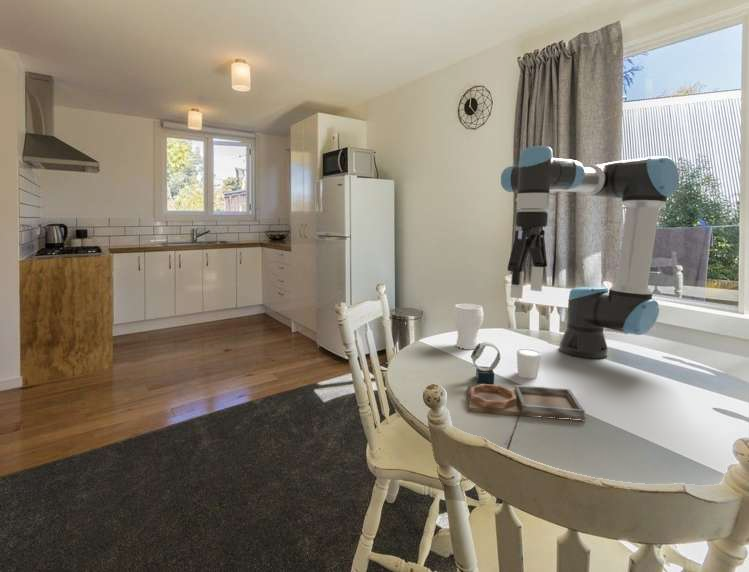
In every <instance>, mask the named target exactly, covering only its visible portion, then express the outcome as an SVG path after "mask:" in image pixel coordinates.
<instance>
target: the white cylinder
mask: <svg viewBox="0 0 749 572" xmlns="http://www.w3.org/2000/svg"><path fill="white" fill-rule="evenodd" d="M541 357H542V353H541V352H539V351H538V350H534V349H523V348H522V349H518V350H516V365H517V367H516V368H517V375H518V376H519V377H521V378H524V379H537V378H538V375H539V368H540V363H541Z"/></svg>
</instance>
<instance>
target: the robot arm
mask: <svg viewBox="0 0 749 572" xmlns="http://www.w3.org/2000/svg"><path fill="white" fill-rule="evenodd" d="M519 153H520V155H519V162H518V164H514V165H511V166H507V167H505V168H504V169H503V171H502V172H501V175H500V185H501V187H502V189H503V190H504V191H506V192H508V193H517V196H516V198H515V202H516V210H518V212H516V213H515V226H516V227H518V228H520V227H521V230H515V233H514V242H513V245H512V249H511V251H510V253H511V254H510V257H509V260H508V265H507V271H508V272H511V277H510V278H511V280H510V294H509V296H510V298H515V299H523V292H524V275H525V274H524V273H525V272H524V271H523V270H524V266H525V264H526V260H527V258H528V256H529V253H530V256H531V259H532V264H533V266H531V278H530V280H531V281H530V291H534V292H542V287H543V277H544V276H543V275H544V274H543V273H544V268H546V267H548V261H547V252H546V251H547V250H546V242H545V239H546V238H545V234H546V231H545V230H544V229H540V228H545V227H547V226H548V217H549V216H548V215H549V213H548V212H547V210H549V205H550V192H551V193H553V192H556V193H557V192H559V193H560V192H563V193H581V194H582V195H585V196H596V197H604V198H611V199H613V198H614V199H621V204H622V205H623V206H624V207H625V215H624V222H623V230H622V236H621V245H620V251H619V257H618V265H617V273H616V279H615V284H613V285H612V286H611V287H609V290H608V287H605V286H584V287H583V286H579V287H574V288H571V290H570V291H569V295H568V299H567V301H568V306H567V307H568V308H567V317H566V318H567V319H566V328H565V330H564V333H563V335H562V338H561V340H560V341H559V348H558V349H559V351H561V353H564V354H567V355H569V356H572V357H576V358H577V357H578V358H584V359H603V358H606V357H607V356H608V353H609V352H608V351H609V348H608V345H607V340H606V337H605V329H609V330H612V331H613V330H614V331H617V332H621V333H625V334H626V335H627V334H628V335H629V334H630V335H636V336H641V335H645V334H647V333H648V332H649V331H651V329H652V328H653V327H654V325H655V323H656V321H657V320H658V317H659V313H660V307H659V303H658V301H656V300H655V299H653V291H652V290H651V289H650V288H649V281H650V280H649V279H650V273H651V266H652V260H653V254H654V248H655V247H654V246H655V240H656V233H657V226H658V220H659V219H658V218H659V215H660V214H659V212H660V209H661V208H662V207H664V206H665V205H666V204H667V200H668V197H671V196H673V195H675V193H676V192H677V190H678V189H679V184H680V183H679V182H680V176H679V175H680V174H679V170H678V167H677V165H676V163H675V161H674V160H673V159H672V158H671V157H669V156H665V155H663V156H662V155H660V156H648V157H641V158H640V157H639V158H634V159H633V158H632V159H626V160H617V161H611V162H607V163H606V162H605V163H602V164H601V163H600V164H589V165H586V166H585V167H584V165H583V164H582V162H580V161H579V160H574V159H572V158H557V157H554V156H553V149H552V148H551V147H550V146H547V145H538V146H537V145H536V146H533V145H532V146H528V147H524V148H523V149H521V151H520V152H519Z"/></svg>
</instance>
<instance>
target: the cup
mask: <svg viewBox="0 0 749 572" xmlns="http://www.w3.org/2000/svg"><path fill="white" fill-rule="evenodd" d="M452 313H453V315H452V316H453V322H454V325H455V327H456V330H457V331H456V332H457V337H456V343H455V346H456V347H457V348H458V347H460V348H459V349H462V348H464V349H463V350H474V349H475V347H476V346H477V345H478V344H479V343H478V333H479V330H480V328H481V327H482V326H483V325H482V324H483V323H484V310H483V306H482V305H480V304H475V303H459V304H458V303H457V304H455V305H454V309H453V312H452Z"/></svg>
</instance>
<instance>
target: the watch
mask: <svg viewBox="0 0 749 572" xmlns="http://www.w3.org/2000/svg"><path fill="white" fill-rule="evenodd" d="M487 346H488V347H492V348H494V350H496V351H497V353H496V356H495V359H494V360H493V362H492V363H491V365H490V366H481V365H478V364H476V360H478V359H480V357H481V356H482V354H483V353H484V349H485V348H486V347H487ZM470 358H471V360H472V364H473V366H474V367H475V369H476V370H475V371H476V372H475V377H476V381H477V385H480V384H492V385H495V384H494V382H495V372H494V370H495V369H496V368H497V366H498V365H499V363H500V362H501V361H500V360H501V353H500V350H499V349H498V347H497V346H496V345H495V344H493V343H491V342H486V341H485V342H481V343H478V345H477V346H476V347H475V349H472V352H471V354H470ZM479 383H480V384H479Z"/></svg>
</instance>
